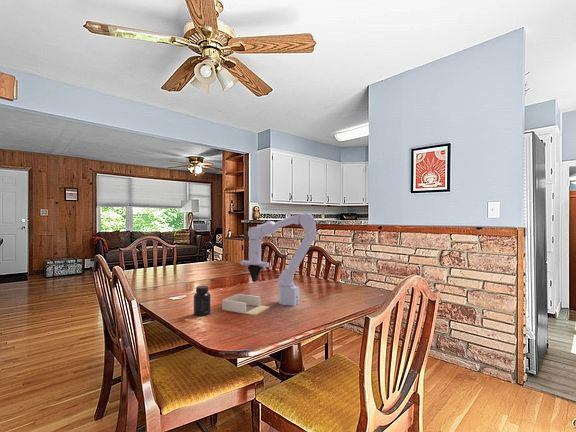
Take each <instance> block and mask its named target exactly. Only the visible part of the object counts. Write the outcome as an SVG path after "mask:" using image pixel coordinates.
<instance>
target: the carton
mask: <svg viewBox="0 0 576 432" xmlns="http://www.w3.org/2000/svg"><path fill="white" fill-rule="evenodd" d="M261 299H262V298H261V296H259V295H258V296H257V295H250V294H243V293H237V294H234V295H231V296H229V297H227V298H223V299H222V300H221V310H222V311H225V312H226V311H227V312H234V313H237V314H247V313H248V312H250V311H252V310H254V309H256V308H258V307H260V306H262V305H261Z"/></svg>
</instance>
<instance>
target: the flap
mask: <svg viewBox="0 0 576 432" xmlns="http://www.w3.org/2000/svg"><path fill="white" fill-rule="evenodd" d="M268 309H270V306H269V305H267V306H266V305H261V306H260V307H258V308H256V309H254V310H252V311H250V312H248V313H246V314H247V315H251V316H257V315H259V314H260V313H262V312H264V311H266V310H268Z"/></svg>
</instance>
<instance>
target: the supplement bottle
mask: <svg viewBox="0 0 576 432" xmlns="http://www.w3.org/2000/svg"><path fill="white" fill-rule="evenodd" d="M211 311H212V310H211V293H210V292H209V286H208V285H199V286H198V285H197V286H196V287H195V293H194V294H193V316H194V317H206V316H208V315H210V314H211V313H212V312H211Z"/></svg>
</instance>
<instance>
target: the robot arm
mask: <svg viewBox="0 0 576 432" xmlns="http://www.w3.org/2000/svg"><path fill="white" fill-rule="evenodd" d="M316 224H317V223H316V220H315V218H314V216H313V215H312V213H308V212H304V213H301V214H295V215H291V216H289V217H287V218H284V219H281V220H278V221H276V222H275V221H272V220H267V221H265V222H264V223H262V224H256V226H252V227H250V229H248V231H247V236H248V238H249V239H248V240H249V241H248V260H245V259H243V260H241V261H240V265H241V266H247V270H248V272H249V273H250V274H249V275H250V277H251V281H252V282H254V283H255V282H258V279H259V274H260V272H261V270H262V269H263V268H269V267H270V262H265V261H262V238H264V237H266V236H269V235H273V234H275V233H277V230H278V229H281V228H283V227H286V226H290V225H301V227H302V228H303V230H304V234H305V235H304V237H303V239H302V240H301V242H300V244H299V246H298V247H297V249H296V251H295V252H294V254H293V256H292V258H291V260H290V261H289V262H288V264H287V267H286V268H285V269H283V270H282V271H281V273H280V274H279V276H278V279H277V280H278V304H279V305H282V306H292V307H295V306H297V305H298V304H300V303H301V299H300V298H301V296H300V295H301V290H300V287H299V286H296V285H295V283H294V278H295V273H296V271H297V269H298V268H299V266H300V265H301V263H302V261H303V260H304V258H305V256H306V255H307V253H308V251H309V249H310V247H311V246H312V244H313V243H314V241H315V240H316V238H317V226H316Z"/></svg>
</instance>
